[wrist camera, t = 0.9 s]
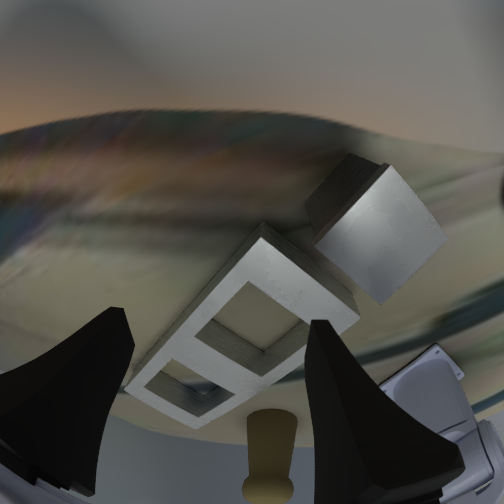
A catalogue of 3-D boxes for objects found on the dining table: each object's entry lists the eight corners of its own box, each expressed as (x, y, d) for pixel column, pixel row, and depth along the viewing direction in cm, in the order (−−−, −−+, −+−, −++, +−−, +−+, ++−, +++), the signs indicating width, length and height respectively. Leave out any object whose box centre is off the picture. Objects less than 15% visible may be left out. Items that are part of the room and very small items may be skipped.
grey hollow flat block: (352, 294, 21) (361, 317, 18) (200, 409, 29) (195, 429, 27) (263, 220, 19) (260, 237, 17) (133, 370, 28) (123, 389, 25)
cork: (250, 433, 31) (241, 508, 21) (242, 409, 29) (230, 495, 19) (297, 432, 30) (297, 508, 20) (297, 407, 28) (297, 496, 18)
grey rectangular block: (396, 198, 18) (448, 238, 11) (350, 246, 20) (380, 305, 13) (349, 149, 17) (390, 165, 10) (301, 202, 19) (313, 246, 12)
